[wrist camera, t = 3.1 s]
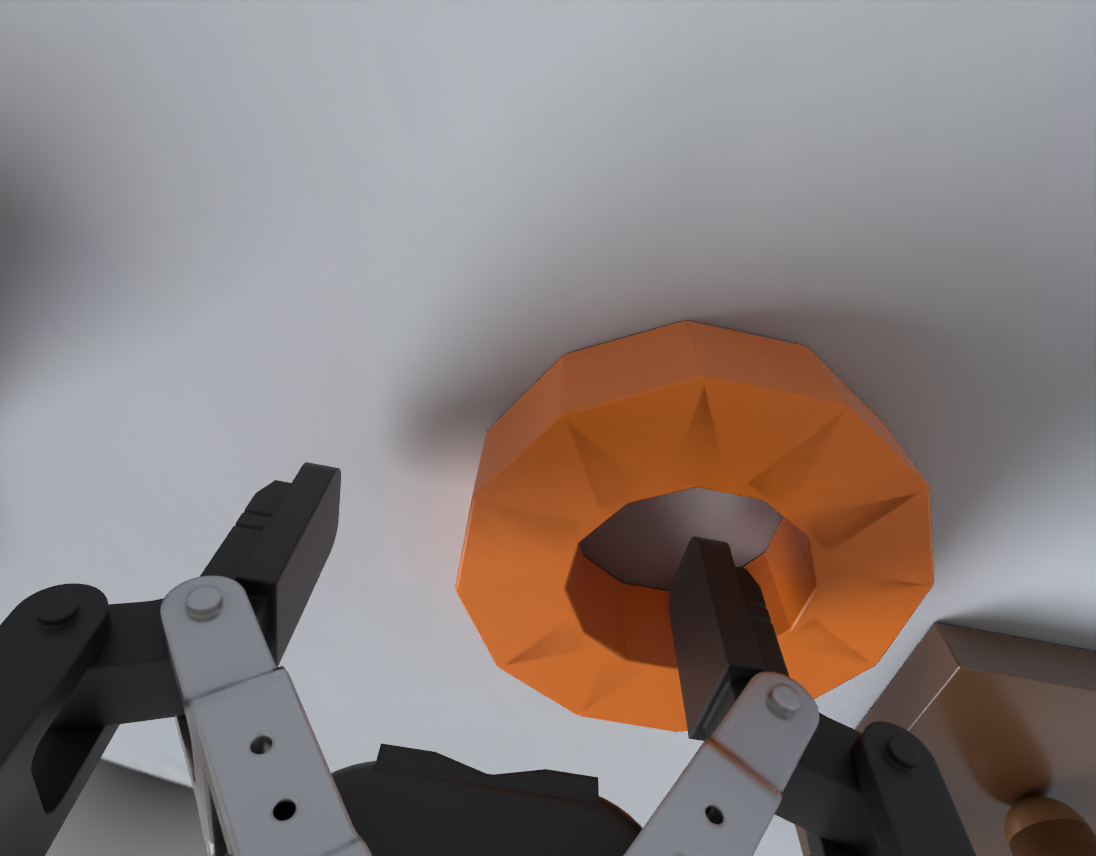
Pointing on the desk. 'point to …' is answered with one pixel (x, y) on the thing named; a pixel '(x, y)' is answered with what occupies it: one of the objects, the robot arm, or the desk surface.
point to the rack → (1003, 736)
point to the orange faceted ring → (674, 465)
